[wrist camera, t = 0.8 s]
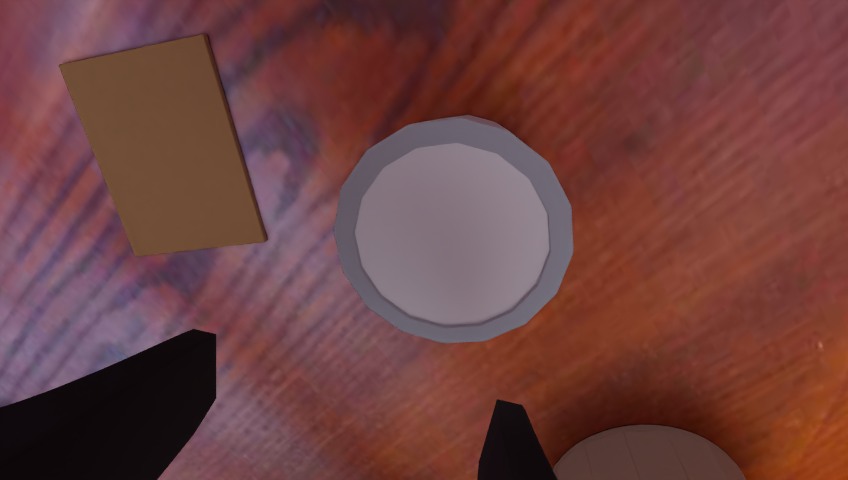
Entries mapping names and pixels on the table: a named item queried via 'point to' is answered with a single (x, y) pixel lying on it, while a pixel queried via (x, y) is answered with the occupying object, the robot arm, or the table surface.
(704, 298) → the table surface
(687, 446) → the tin
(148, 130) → the mat
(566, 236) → the pale grey cylinder
